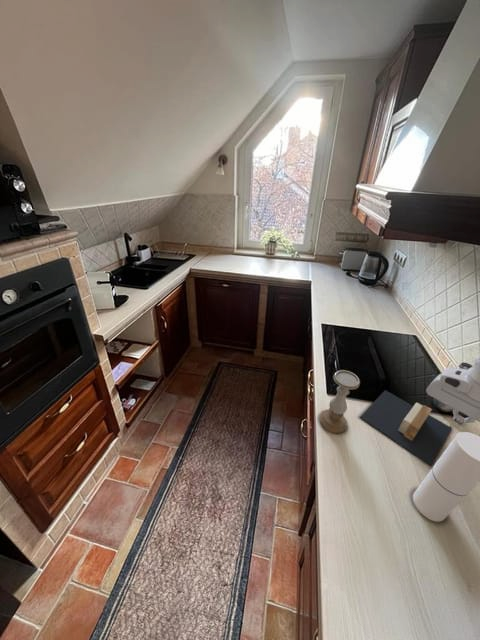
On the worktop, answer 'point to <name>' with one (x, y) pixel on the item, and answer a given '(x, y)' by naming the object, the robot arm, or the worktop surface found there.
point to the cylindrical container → (450, 478)
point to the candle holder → (339, 402)
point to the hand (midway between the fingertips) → (458, 422)
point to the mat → (389, 418)
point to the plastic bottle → (442, 405)
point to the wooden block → (414, 420)
